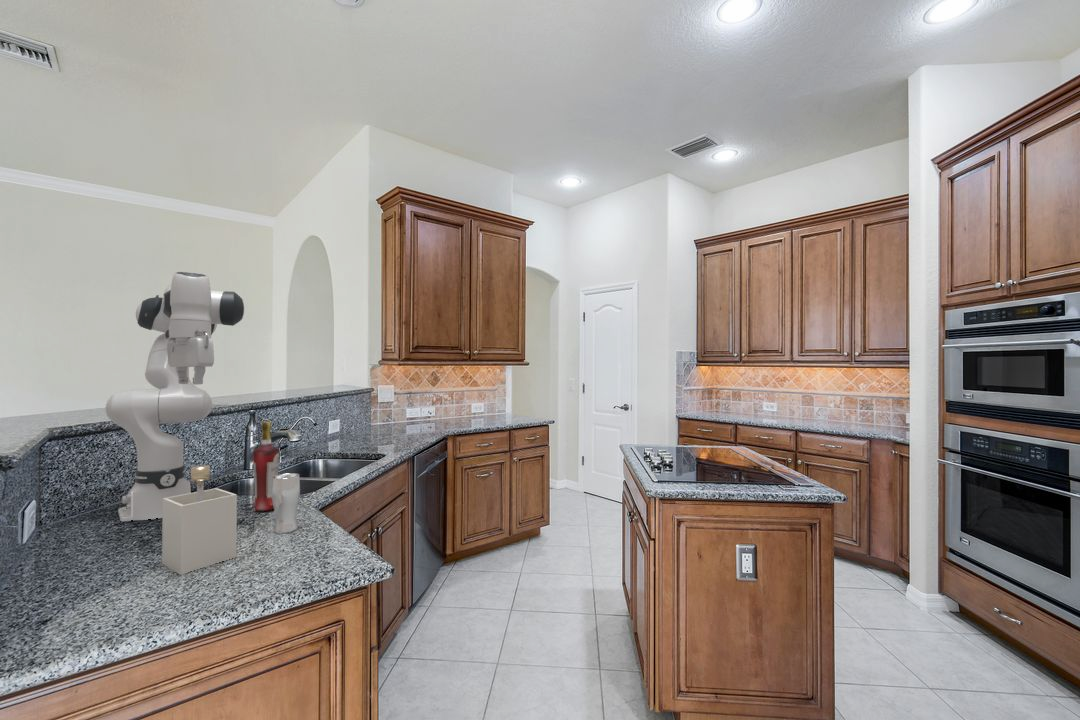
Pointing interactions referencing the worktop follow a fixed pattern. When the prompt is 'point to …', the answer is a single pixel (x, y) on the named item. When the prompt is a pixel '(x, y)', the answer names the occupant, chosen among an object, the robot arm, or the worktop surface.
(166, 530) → the beige open box
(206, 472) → the plunger
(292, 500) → the beer glass
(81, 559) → the worktop surface
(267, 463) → the liquor
